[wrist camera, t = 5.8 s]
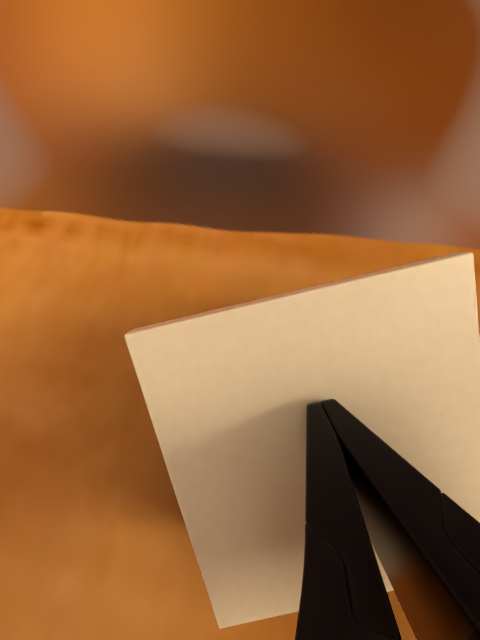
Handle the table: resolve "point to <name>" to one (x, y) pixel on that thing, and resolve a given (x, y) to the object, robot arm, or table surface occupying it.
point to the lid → (290, 411)
